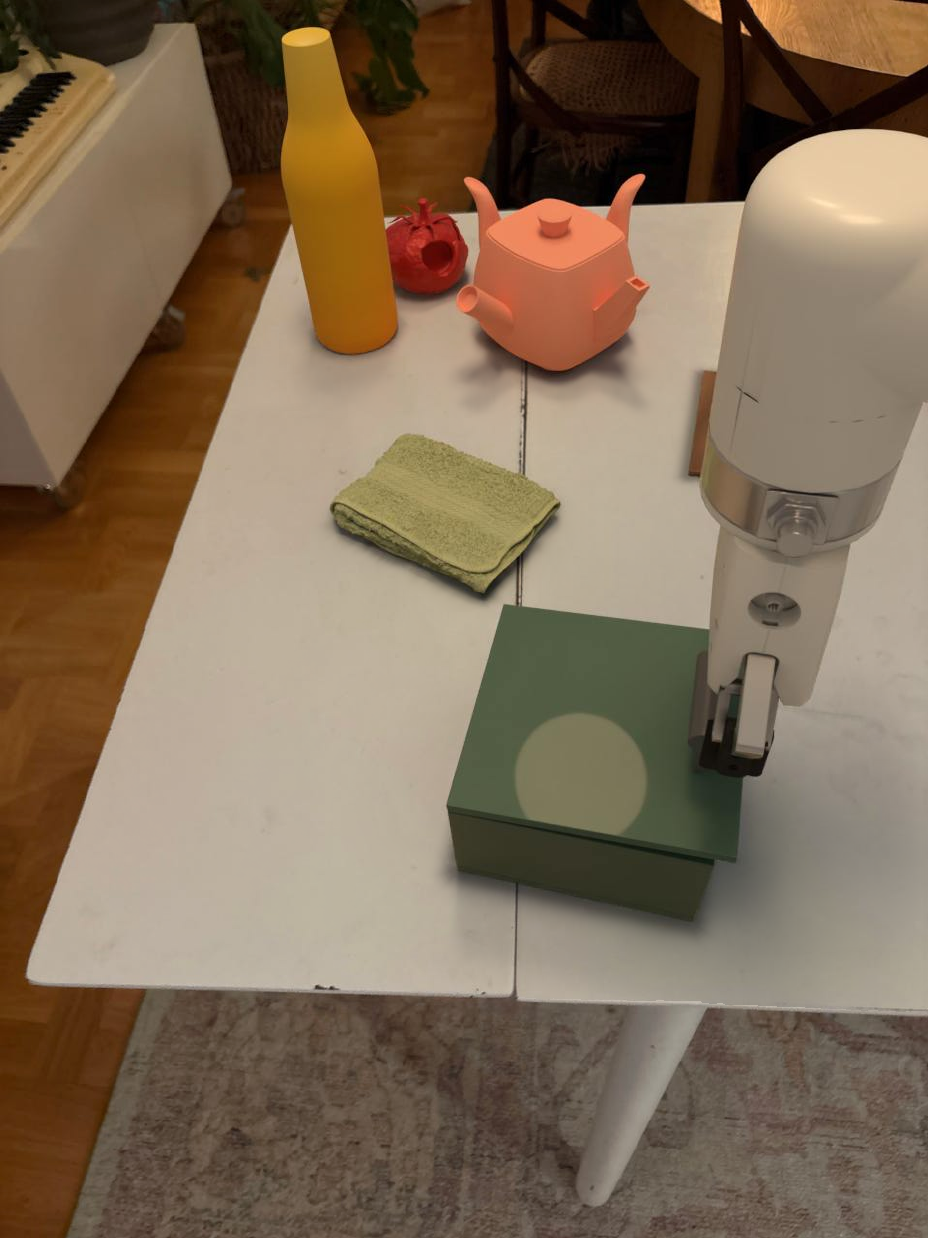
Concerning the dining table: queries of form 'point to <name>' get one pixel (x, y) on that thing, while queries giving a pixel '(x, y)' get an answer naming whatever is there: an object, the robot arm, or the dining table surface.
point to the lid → (599, 734)
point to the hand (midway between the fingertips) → (735, 692)
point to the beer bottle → (334, 201)
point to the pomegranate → (426, 250)
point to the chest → (581, 865)
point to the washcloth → (445, 509)
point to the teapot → (554, 277)
